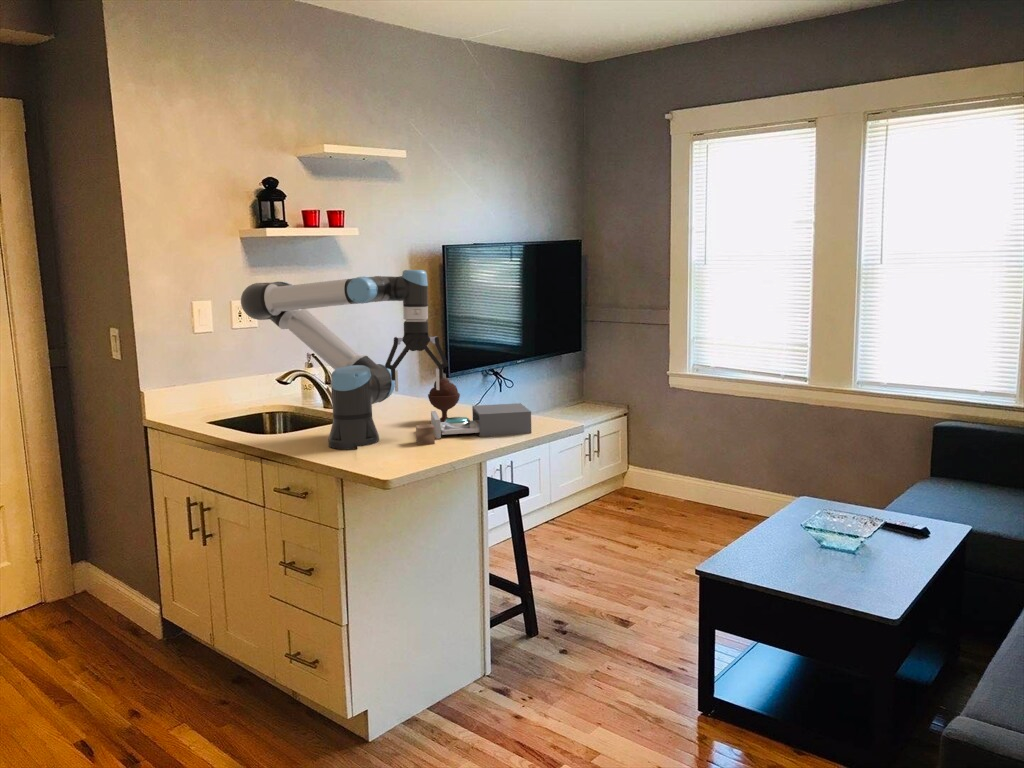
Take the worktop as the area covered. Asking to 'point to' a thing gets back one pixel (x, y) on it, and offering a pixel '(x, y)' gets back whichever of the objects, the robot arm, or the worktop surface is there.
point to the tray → (440, 428)
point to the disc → (457, 423)
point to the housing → (502, 419)
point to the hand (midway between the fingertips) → (417, 390)
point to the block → (425, 434)
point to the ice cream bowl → (444, 397)
